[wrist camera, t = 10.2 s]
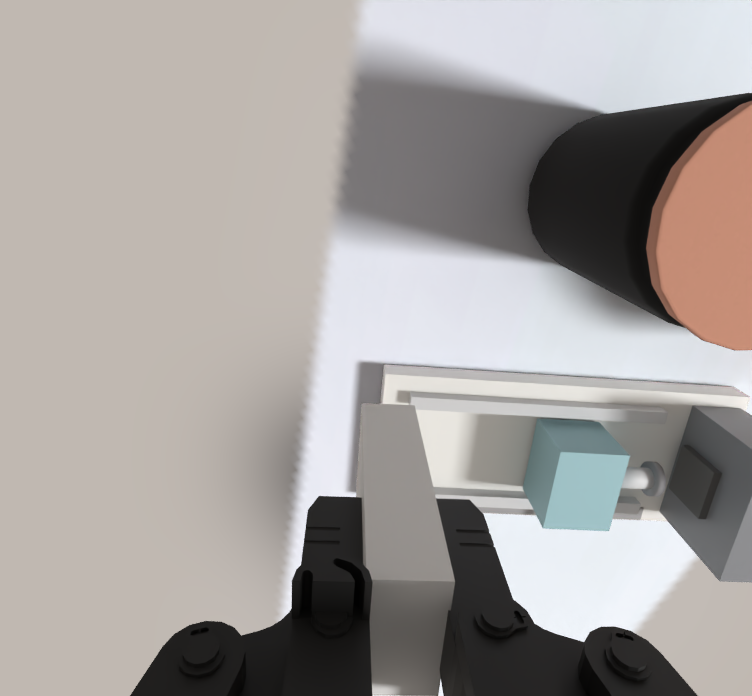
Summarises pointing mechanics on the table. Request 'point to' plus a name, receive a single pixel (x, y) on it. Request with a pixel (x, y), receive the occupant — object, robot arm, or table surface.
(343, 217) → the table surface
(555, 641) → the robot arm
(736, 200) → the coffee jar
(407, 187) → the table surface
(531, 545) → the table surface
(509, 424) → the board
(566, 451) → the gauge slider
